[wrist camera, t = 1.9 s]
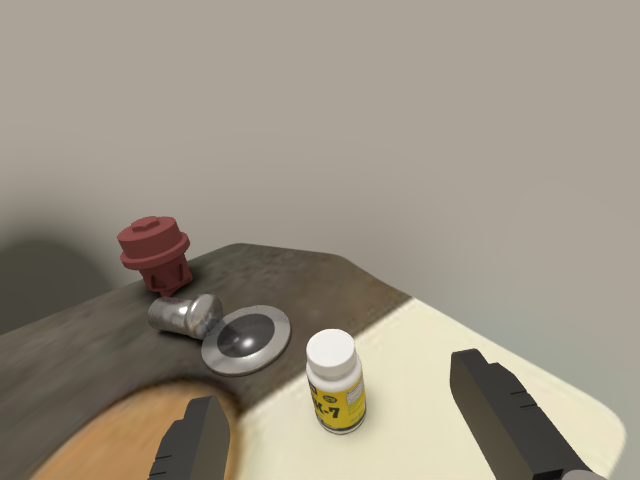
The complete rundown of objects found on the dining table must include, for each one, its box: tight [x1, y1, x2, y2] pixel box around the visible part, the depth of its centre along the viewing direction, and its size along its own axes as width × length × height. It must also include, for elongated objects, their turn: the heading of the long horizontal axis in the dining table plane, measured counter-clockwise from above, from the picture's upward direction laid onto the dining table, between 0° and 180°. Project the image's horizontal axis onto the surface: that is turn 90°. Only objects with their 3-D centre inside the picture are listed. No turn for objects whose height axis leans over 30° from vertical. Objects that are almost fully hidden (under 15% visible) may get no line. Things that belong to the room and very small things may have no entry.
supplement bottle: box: [306, 329, 366, 434], centre depth 27 cm, size 5×5×8 cm
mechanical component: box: [117, 216, 193, 297], centre depth 49 cm, size 12×10×10 cm
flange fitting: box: [148, 294, 291, 377], centre depth 39 cm, size 19×11×6 cm, turn 71°
